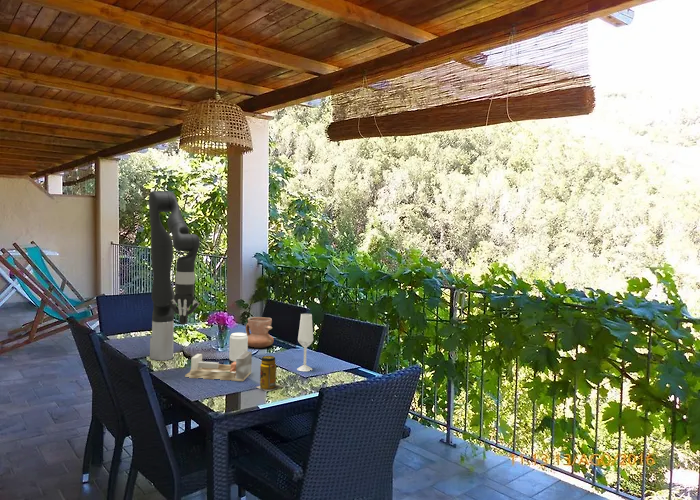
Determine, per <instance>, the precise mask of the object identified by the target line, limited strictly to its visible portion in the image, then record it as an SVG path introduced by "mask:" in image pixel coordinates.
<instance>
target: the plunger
mask: <svg viewBox="0 0 700 500" xmlns="http://www.w3.org/2000/svg"><path fill="white" fill-rule="evenodd" d="M190 358H191V359H190V361H191V362H190V370H200V369H201V368H215V369H217V368H219V364H220V362H215V361H203V353H196V354H195V355H193V356H192V357H190Z"/></svg>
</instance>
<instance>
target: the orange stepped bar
mask: <svg viewBox="0 0 700 500" xmlns="http://www.w3.org/2000/svg"><path fill="white" fill-rule="evenodd" d="M230 365H231V370H230V372H232V371H233V372H236V362H233V361H232V362H231V363H230Z"/></svg>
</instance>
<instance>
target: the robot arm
mask: <svg viewBox="0 0 700 500" xmlns="http://www.w3.org/2000/svg"><path fill="white" fill-rule="evenodd" d="M148 211H149V219H150V253H151V254H150V257H151V269H152V287H151V288H152V290H151V300H152V304H153V305H152V306H153V307H152V308H153V309H152V316H151V317H152V319H151V325H152V326H151V337H150V339H149V359H151V360H155V361H168V360H171V359H173V358H174V334H175V333H174V330H175V329H174V324H175V323H174V320H175V314H177V315H179V321H178V322H179V324H180V325H187V323H188V319H189V317H188V316H189V315H191V314H193V313H194V311H196V310H197V308H198V307H199V305H200V304H201V303H200V302H198V301H197V300H196V298H195V282H196V279H195V265H196V264H195V263H196V259H197V255H198V252H199V248H200V245H201V240H200V237H199V236H198V235H197V234H195V233H190V229H189V227H188V225H187V223H186V221H185V220H184V217H183V215H182V212H181V209H180V205H179V202H178V198H177V196H176V194H175V193H174V192H172V191H169V190H167V191H166V190H152V191H150V193H149V195H148ZM160 213H170V215H169V217H168V218H167V222H166V223H167V227H168V229H169V231H170V233H171V235H170V234H169V233H168V231H167V230H166V229H165V226H164V225H163V224H162V220H161V217H160ZM171 236H172V238H171ZM174 249H175V251H178V252H187V254H186V255H183V256H179V257H178V258H177V259H176V273H175V282H174V284H175V285H174V289H173V287H172V281H171V273H172V272H171V271H172V265H173V257H174ZM191 305H192V307H191Z"/></svg>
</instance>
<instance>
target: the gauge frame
mask: <svg viewBox="0 0 700 500" xmlns="http://www.w3.org/2000/svg"><path fill="white" fill-rule="evenodd" d="M252 357H253V351H245V352H243V353H242V354H241V355H240V356H239V357H238V358H237V359H236V372H233V371H232V372H230V370H231V364H221V363H219V368H217V369H215V368H201V369H200V370H191V369H190V370H189V371H188V372H187V373H186V374H184V378H185V377H189V378H188V379H198V378H203V379H202V380H214V379H220V380H219V381H230V380H231V381H232V382H244V381H245V380H246V379H247V378H248V377H249V376H250V375H251V374H252V363H253V362H252V360H253V359H252Z"/></svg>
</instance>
